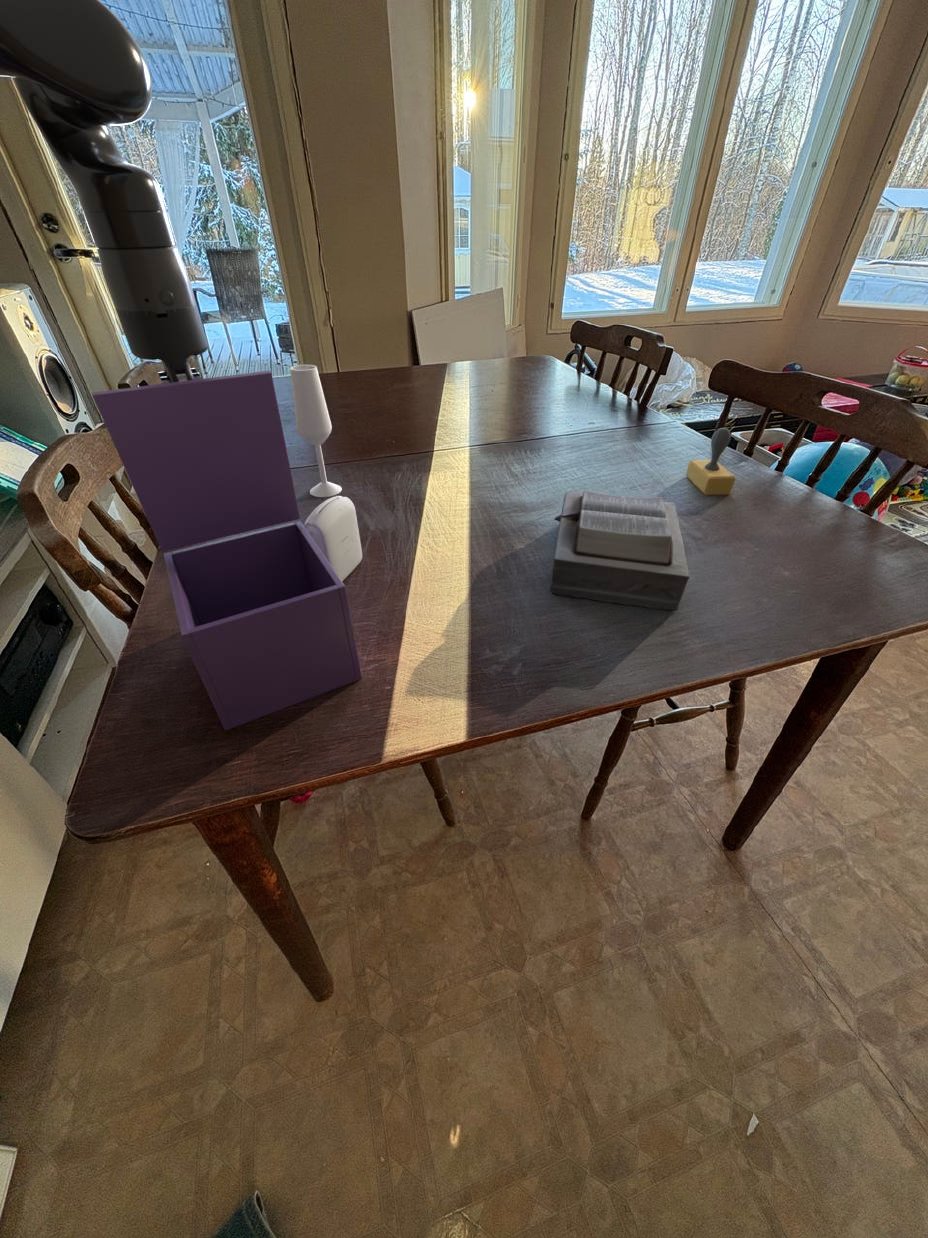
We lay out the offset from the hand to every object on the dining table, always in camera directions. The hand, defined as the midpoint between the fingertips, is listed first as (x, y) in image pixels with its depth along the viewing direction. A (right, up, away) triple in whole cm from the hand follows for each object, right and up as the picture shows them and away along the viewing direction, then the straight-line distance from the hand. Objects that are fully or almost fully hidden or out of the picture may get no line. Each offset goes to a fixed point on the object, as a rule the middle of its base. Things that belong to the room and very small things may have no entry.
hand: (208, 466), depth 63 cm
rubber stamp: (+84, +10, +47) cm, 97 cm away
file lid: (+3, -2, -5) cm, 6 cm away
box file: (+7, -24, +5) cm, 26 cm away
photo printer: (+11, -11, +21) cm, 26 cm away
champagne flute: (+2, +8, +46) cm, 47 cm away
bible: (+56, -9, +24) cm, 62 cm away
